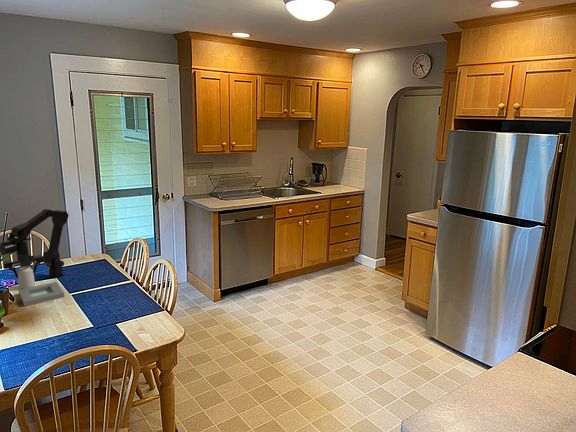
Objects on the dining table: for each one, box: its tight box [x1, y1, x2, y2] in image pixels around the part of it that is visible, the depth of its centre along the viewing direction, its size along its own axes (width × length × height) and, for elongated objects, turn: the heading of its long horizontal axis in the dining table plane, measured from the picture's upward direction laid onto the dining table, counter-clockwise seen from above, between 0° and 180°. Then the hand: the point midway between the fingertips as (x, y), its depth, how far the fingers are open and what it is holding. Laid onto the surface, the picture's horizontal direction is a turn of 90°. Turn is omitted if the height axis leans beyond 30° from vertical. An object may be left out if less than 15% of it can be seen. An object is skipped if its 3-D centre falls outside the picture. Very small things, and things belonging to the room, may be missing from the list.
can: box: [16, 264, 36, 289], centre depth 227 cm, size 8×8×12 cm
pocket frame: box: [18, 281, 65, 307], centre depth 218 cm, size 18×18×2 cm
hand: (25, 276), depth 227 cm, fingers closed on can, 7 cm apart
